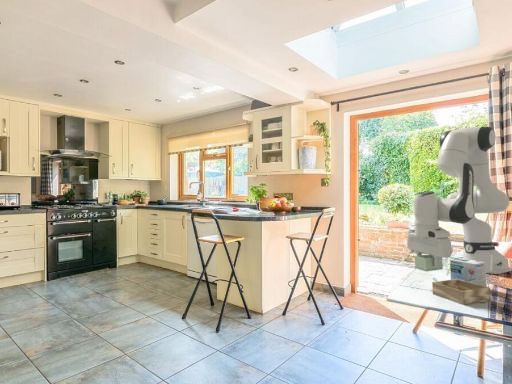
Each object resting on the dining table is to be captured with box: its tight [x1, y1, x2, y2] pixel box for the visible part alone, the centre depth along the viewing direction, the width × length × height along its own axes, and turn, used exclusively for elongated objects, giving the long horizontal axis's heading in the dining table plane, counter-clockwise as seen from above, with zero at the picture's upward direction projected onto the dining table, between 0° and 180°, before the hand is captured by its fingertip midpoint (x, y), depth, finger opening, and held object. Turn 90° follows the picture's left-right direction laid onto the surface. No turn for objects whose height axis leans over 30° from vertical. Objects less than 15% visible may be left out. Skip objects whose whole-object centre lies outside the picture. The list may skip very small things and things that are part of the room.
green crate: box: [414, 254, 444, 272], centre depth 129 cm, size 8×6×5 cm
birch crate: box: [431, 279, 492, 305], centre depth 116 cm, size 12×13×4 cm
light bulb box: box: [449, 257, 488, 287], centre depth 128 cm, size 11×7×11 cm, turn 23°
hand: (428, 264), depth 129 cm, fingers closed on green crate, 6 cm apart
